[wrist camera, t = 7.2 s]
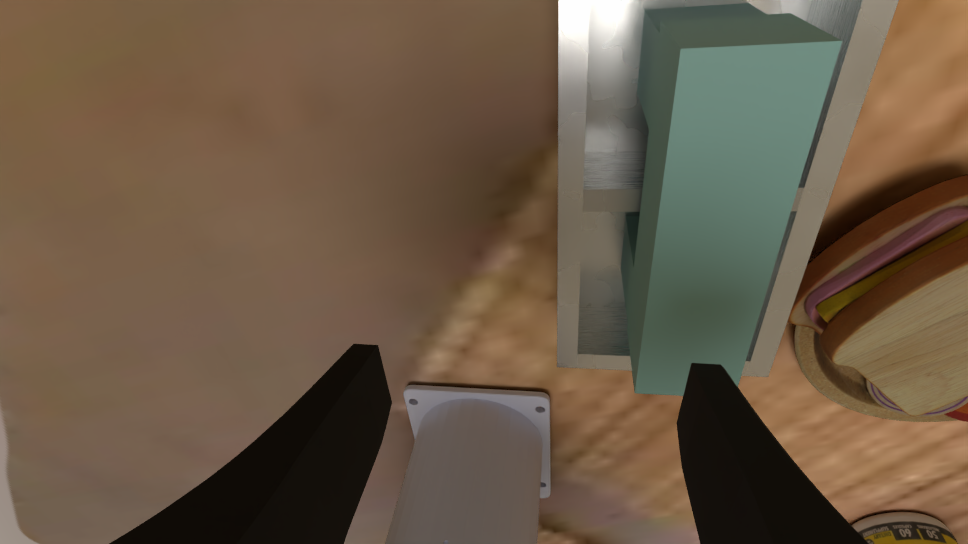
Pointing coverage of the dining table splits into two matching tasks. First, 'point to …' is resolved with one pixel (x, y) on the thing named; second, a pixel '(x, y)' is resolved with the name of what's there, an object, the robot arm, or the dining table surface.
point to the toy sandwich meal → (892, 311)
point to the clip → (715, 180)
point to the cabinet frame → (622, 155)
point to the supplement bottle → (903, 529)
